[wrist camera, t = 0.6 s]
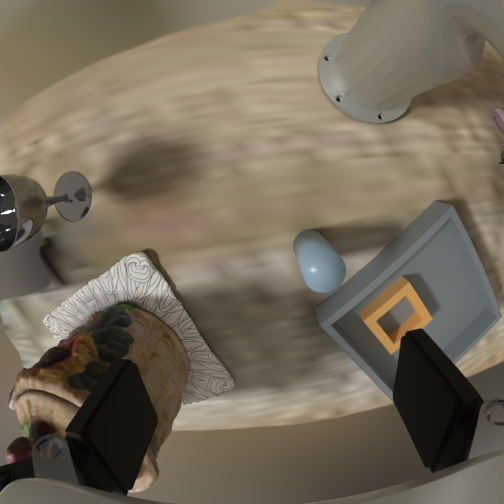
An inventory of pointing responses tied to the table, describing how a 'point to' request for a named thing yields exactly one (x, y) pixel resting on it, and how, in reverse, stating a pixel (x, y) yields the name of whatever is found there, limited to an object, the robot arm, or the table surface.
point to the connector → (318, 261)
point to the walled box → (427, 288)
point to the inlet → (386, 303)
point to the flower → (500, 125)
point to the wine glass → (38, 205)
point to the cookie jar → (117, 357)
